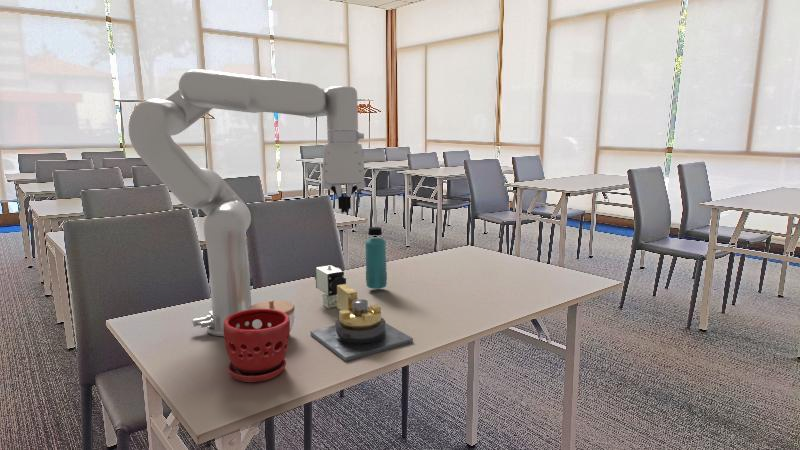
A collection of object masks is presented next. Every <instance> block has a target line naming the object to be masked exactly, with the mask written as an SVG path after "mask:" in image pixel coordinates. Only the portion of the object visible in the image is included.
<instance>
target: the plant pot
mask: <svg viewBox="0 0 800 450" xmlns="http://www.w3.org/2000/svg"><path fill="white" fill-rule="evenodd" d="M256 319H258V320H260V321H261V322H262V326H261V327H260V328H258V329H256V328H254V327H253V326H252V323H253V321H254V320H256ZM246 322H249V325H248V326H245V323H246ZM268 323H271V327H269V326H268ZM237 324H239V325H240V327H239V328H236V325H237ZM290 333H291V331H290V319H289V316H288V315H287V314H286V313H284V312H282V311H278V310H273V309H249V310H244V311H240V312H236V313H234V314H231V315H229V316H228V317H227V318H226V319H225V320H224V336H223V338H224V340H223V341H224V346H225V351H226V354H227V356H228V359H229V361H230V362H229V363H228V365H227V371H228V373H229V374H230V376H231V377H233V378H234V379H235V380H237V381H242V382H245V383H247V382H248V383H255V382H257V383H258V382H262V381H267V380H270V379H274V378H275V377H277V376H278V375H280V374H281V373H282V372H283V371H284V370H285V368H286V365H287V361H286V358H285V356H286V354H287V351H288V347H289V341H290Z"/></svg>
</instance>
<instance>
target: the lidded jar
mask: <svg viewBox="0 0 800 450" xmlns="http://www.w3.org/2000/svg"><path fill="white" fill-rule="evenodd" d="M249 309H273V310H278V311H282V312H284V313H286V314H287V315H288V316H289V319H290V332H291V331H292V329H293V326H294V322H295V304H294V303H293V302H291V301H288V300H281V299H274V300H273V299H268V300H264V301H260V302H256V303H254V304H251V307H250V308H249ZM252 326H253V327H254V328H256V329H258V328H260V327H261V326H262V322H261V321H260V320H258V319H256V320H254V321H253V323H252ZM268 326H269V327H271V323H268Z"/></svg>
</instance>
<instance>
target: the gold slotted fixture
mask: <svg viewBox="0 0 800 450" xmlns="http://www.w3.org/2000/svg"><path fill="white" fill-rule="evenodd" d="M337 303H338V307H337V309H339V311H338V318H339V319H338V320H339V323H340V325H341V326H342V327H344V328H348V329H354V330H363V329H370V328H374V327H376V326H378V325H379V324H380V323H381V318H382V306H380V305H379V304H373V305H371V304H370V305H369V304H368V303H369V302H368V300H367V299H365V298H364V299H362V298H361V299H359V298H358V291H356V290H355V289H354V288H353V287H351V286H349V285H348V284H347V283H346V284H342V285H337ZM368 305H369V306H368Z"/></svg>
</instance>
